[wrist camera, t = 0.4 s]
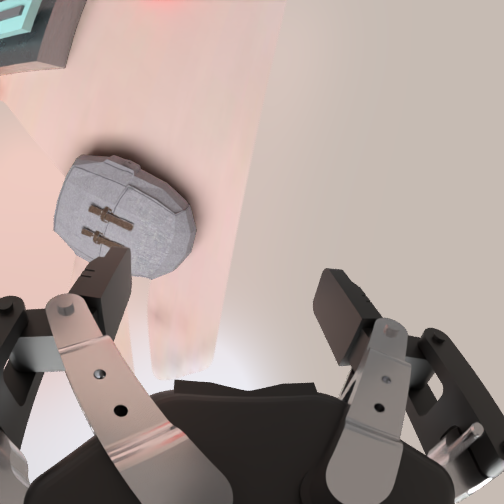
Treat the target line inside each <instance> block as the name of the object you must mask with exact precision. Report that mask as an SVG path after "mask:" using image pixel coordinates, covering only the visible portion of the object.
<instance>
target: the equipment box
mask: <svg viewBox="0 0 504 504" xmlns="http://www.w3.org/2000/svg"><path fill="white" fill-rule="evenodd" d="M3 1H5V0H0V2H3ZM86 1H87V0H42V2H41V4H40V7H39V9H38V12H37V15H36V17H35V20H34V23H33V26H32V29H31V32H27V33H23V34H18V35H14V36H10V37H6V38H2V39H0V76H1V75H7V74H13V73H20V72H28V71H36V70H47V69H61V68H65V66H66V62H67V58H68V55H69V51H70V47H71V44H72V41H73V37H74V34H75V31H76V28H77V25H78V22H79V19H80V16H81V14H82V11H83V8H84V6H85V3H86Z"/></svg>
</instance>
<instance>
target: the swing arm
mask: <svg viewBox="0 0 504 504" xmlns="http://www.w3.org/2000/svg"><path fill="white" fill-rule="evenodd" d="M41 2H42V0H5V1H3V2H0V39H2V38H6V37H10V36H14V35H18V34H23V33H27V32H31V29H32V26H33V23H34V20H35V17H36V15H37V12H38V9H39V7H40V4H41Z"/></svg>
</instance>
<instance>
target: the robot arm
mask: <svg viewBox="0 0 504 504" xmlns="http://www.w3.org/2000/svg"><path fill="white" fill-rule="evenodd" d="M131 287H132V275H131V250H130V248H127V247H118V246H112V247H111V248H110V249H109V251H108V252H107V254H106V255H105V257H97V258H95V259H94V260H92V261H91V262H89V264H88V265H87V267H86V268H85V270H84V271H83V272H82V274H81V276H79V278H78V279H77V281H76V282H75V284H74V285H73V287H72V288H71V290H70V291H69V293H68V294H61V295H58V296H56V297H54V298H52V299H51V300H50V301H49V302H48V303H47V305H46V309H31V310H26V309H25V305H24V302H23V300H22V299H21V298H19V297H16V296H6V297H3V298H0V504H455V503H457V502H460V501H462V500H463V499H465V498H467V497H468V496H470V495H471V494H473V493H474V492H476V491H477V490H479V489H480V488H482V487H483V486H485V485H486V484H487V483H489V482H490V481H492V480H493V479H494V478H496V477H497V476H498V475H500V474H501V473H502V472H504V416H503V414H502V412H501V411H500V409H499V408H498V406H497V404H496V403H495V402H494V400H493V398H492V397H491V395H490V394H489V392H488V391H487V389H486V388H485V386H484V385H483V383H482V382H481V380H480V379H479V378H478V376H477V375H476V373H475V372H474V370H473V369H472V368H471V366H470V365H469V364H468V362H467V361H466V360H465V358H464V357H463V355H462V354H461V353H460V351H459V350H458V349H457V347H456V346H455V345H454V343H453V342H452V341H451V340H450V338H449V337H448V336H447V335H446V334H445V333H443V332H442V331H440V330H437V329H434V328H428V329H425V331H424V333H423V335H422V336H421V338H419V337H413V336H409V335H408V333H407V331H406V329H405V328H404V327H403V326H402V325H401V324H400V323H398V322H396V321H395V320H392V319H389V318H383V317H382V316H381V315H380V313H379V312H378V311H377V309H376V308H375V307H374V305H373V304H372V303H371V302H370V300H369V299H368V297H367V296H366V295H365V293H364V292H363V291H362V289H361V288H360V287H358V286H357V285H356V284H354V283H353V282H352V281H351V280H350V279H349V278H348V276H347V275H346V274H345V273H344V271H343V270H339V269H329V268H326V269H324V271H323V273H322V276H321V278H320V282H319V285H318V288H317V291H316V294H315V297H314V301H313V311H314V314H315V316H316V318H317V320H318V322H319V324H320V326H321V328H322V331H323V333H324V335H325V337H326V339H327V341H328V343H329V345H330V347H331V349H332V352H333V354H334V356H335V358H336V361H337V363H338V365H339V366H347V365H351V366H352V368H351V370H350V372H349V374H348V376H347V378H346V381H345V383H344V385H343V388H342V390H341V393H340V395H339V397H338V398H336V397H333V396H330V395H327V394H323V393H318V392H317V390H316V387H315V385H314V383H292V384H279V385H276V386H271V387H266V388H262V389H257V390H252V391H244V390H240V389H236V388H231V387H227V386H223V385H218V384H215V383H210V382H197V381H185V380H175V382H174V390H169V391H163V392H159V393H155V394H152V395H150V396H149V395H148V393H147V392H146V391H145V389H144V388H143V386H142V385H141V383H140V382H139V381H138V379H137V378H136V376H135V375H134V373H133V372H132V370H131V369H130V367H129V366H128V364H127V363H126V361H125V360H124V358H123V357H122V355H121V353H120V352H119V350H118V349H117V347H116V345H115V344H114V339H115V336H116V333H117V330H118V327H119V325H120V322H121V319H122V316H123V314H124V311H125V308H126V306H127V303H128V301H129V297H130V294H131ZM8 359H9V361H8V363H7V365H6V367H5V369H4V366H5V364H6V362H7V360H8ZM3 370H4V371H3ZM54 371H65V373H66V375H67V378H68V380H69V382H70V385H71V387H72V389H73V392H74V394H75V396H76V398H77V401H78V403H79V405H80V407H81V409H82V411H83V413H84V415H85V417H86V419H87V421H88V423H89V425H90V427H91V429H92V431H93V433H94V436H93V437H92V438H91V439H89V440H88V441H87V442H85V443H84V444H83V445H81V446H80V447H79V448H77V449H76V450H75V451H73V452H72V453H70V454H69V455H68V456H67V457H65V458H64V459H62V460H61V461H60V462H58V463H57V464H55V465H54V466H53V467H51V468H50V469H48V470H47V471H46V472H44V473H43V474H41V475H40V476H39V477H37V478H36V479H35V480H34V481H33V482H32V483H31V485H30V483H29V479H28V464H27V461H26V458H25V456H24V455H23V454H22V452H21V451H20V448H21V444H22V440H23V437H24V433H25V429H26V426H27V422H28V419H29V416H30V412H31V409H32V406H33V403H34V400H35V396H36V394H37V391H38V388H39V385H40V383H41V380H42V377H43V375H44V372H54ZM434 373H436V375H437V376H438V378H439V379H440V381H441V383H442V384H443V394H442V396H441V398H440V399H439V400H438V401H437V400H436V398H435V396H434V394H433V392H432V391H431V389H430V387H429V386H428V384H427V383H428V381H429V380H430V378H431V377H432V376H433V374H434ZM405 410H406V412H407V414H408V416H409V418H410V421H411V423H412V425H413V427H414V429H415V432H416V434H417V436H418V438H419V440H420V443H421V445H422V447H423V450H424V452H425V454H426V455H424V454H423V453H421V452H419V451H418V450H416V449H415V448H413V447H411V446H410V445H408V444H407V443H405V442H403V441H402V440H400V435H401V430H402V425H403V421H404V415H405Z"/></svg>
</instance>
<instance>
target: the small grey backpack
mask: <svg viewBox="0 0 504 504" xmlns="http://www.w3.org/2000/svg"><path fill="white" fill-rule="evenodd" d="M54 231H55V232H56V233H57V234H58V235H59V236H60V237H61V238H62V239H63V240H64V241H65V242H66V243H67V244H68V245H69V246H70V248H71V249H72V250H73V251H74V252H75V254H76V255H77V256H79V257H81V258H83V259H85V260H86V261H88V262H91V261H92V260H94V259H95V258H97V257H105V255H106V254H107V252H108V251H109V249H110V248H111V247H112V246H118V247H127V248H130V250H131V275H132V276H137V277H146V278H149V279H151V280H152V279H155V278H157V277H160V276H162V275H165V274H167V273H170V272H172V271H174V270H175V269H176V268H177V267H178V266H179V265H180V264H181V263H182V262H183V261H184V260H185V258H186V257H187V256H188V255H189V254H190V253H191V251H192V246H193V242H194V238H195V234H196V226H195V222H194V218H193V214H192V210H191V207H190V205H189V203H188V202H187V201H186V200H185V199H184V198H183V197H182V196H181V195H180V194H179V193H178V192H177V191H175V190H174V189H173V188H172V187H171V186H170V185H169V184H168V183H166V182H164V181H163V180H161V179H159V178H157V177H155V176H153V175H151V174H150V173H148V172H146V171H144V170H142V169H141V167H140V165H138V164H137V163H135V162H133V161H131V160H129V159H128V160H126V159H123V158H121V157H118V156H116V155H112V156H111V157H105V156H93V155H81V156H79V157H78V158H77V159H76V160H75V162H74V164H73V165H72V167H71V168H70V170H69V172H68V174H67V176H66V178H65V181H64V183H63V186H62V189H61V192H60V194H59V197H58V200H57V205H56V210H55V215H54Z"/></svg>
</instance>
